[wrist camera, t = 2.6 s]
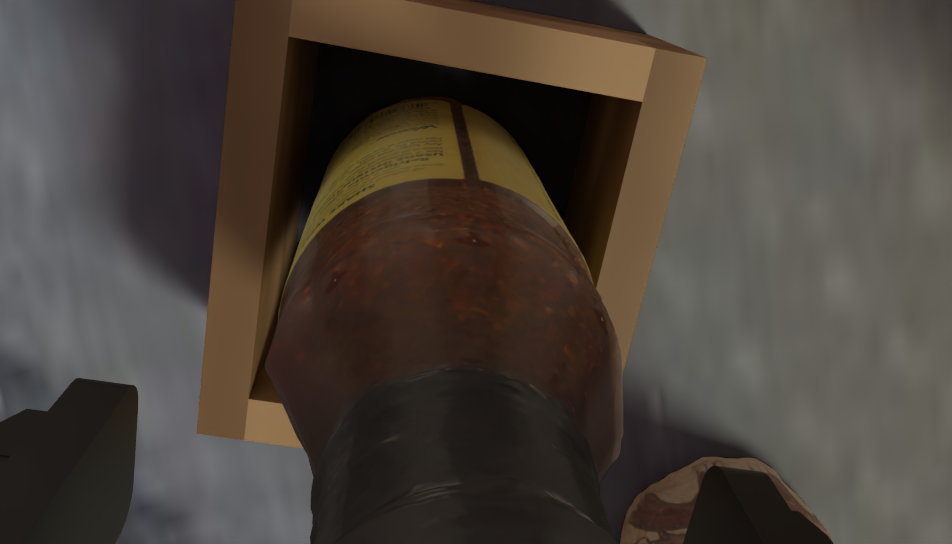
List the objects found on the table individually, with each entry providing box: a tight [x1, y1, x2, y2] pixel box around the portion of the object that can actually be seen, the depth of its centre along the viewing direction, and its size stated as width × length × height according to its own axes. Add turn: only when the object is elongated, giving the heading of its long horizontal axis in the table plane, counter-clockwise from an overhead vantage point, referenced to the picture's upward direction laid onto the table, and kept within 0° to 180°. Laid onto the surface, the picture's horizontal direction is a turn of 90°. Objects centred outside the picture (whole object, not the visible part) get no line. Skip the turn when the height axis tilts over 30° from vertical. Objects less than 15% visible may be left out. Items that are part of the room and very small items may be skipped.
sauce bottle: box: [265, 97, 624, 544], centre depth 17 cm, size 7×6×20 cm
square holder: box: [197, 0, 707, 448], centre depth 24 cm, size 10×11×6 cm
